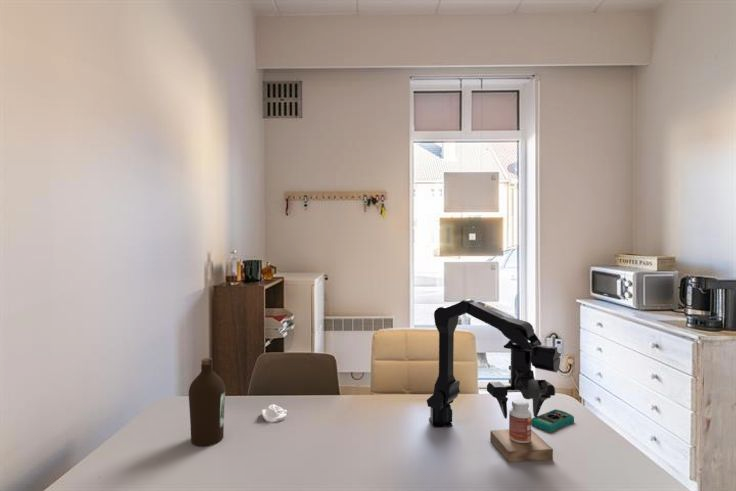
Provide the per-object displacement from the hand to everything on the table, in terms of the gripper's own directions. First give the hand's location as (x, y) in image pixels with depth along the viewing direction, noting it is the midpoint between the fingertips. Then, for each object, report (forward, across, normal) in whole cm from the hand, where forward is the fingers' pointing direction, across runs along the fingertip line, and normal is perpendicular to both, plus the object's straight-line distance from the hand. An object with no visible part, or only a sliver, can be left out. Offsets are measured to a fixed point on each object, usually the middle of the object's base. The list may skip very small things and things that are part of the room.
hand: (520, 417), depth 126 cm
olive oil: (+10, -94, +16) cm, 95 cm away
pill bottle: (+7, 0, 0) cm, 7 cm away
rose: (+10, -75, +31) cm, 82 cm away
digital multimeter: (+10, +19, +16) cm, 27 cm away
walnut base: (+10, 0, 0) cm, 10 cm away
